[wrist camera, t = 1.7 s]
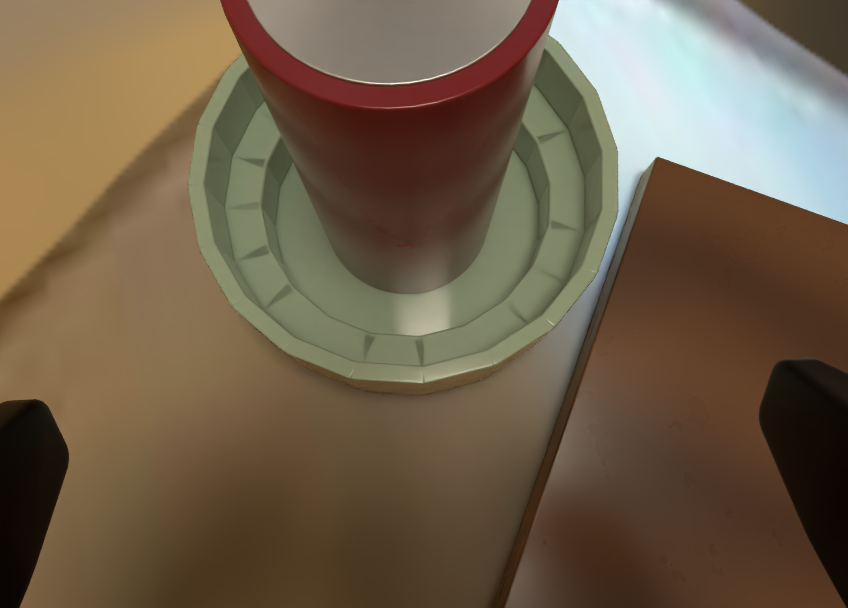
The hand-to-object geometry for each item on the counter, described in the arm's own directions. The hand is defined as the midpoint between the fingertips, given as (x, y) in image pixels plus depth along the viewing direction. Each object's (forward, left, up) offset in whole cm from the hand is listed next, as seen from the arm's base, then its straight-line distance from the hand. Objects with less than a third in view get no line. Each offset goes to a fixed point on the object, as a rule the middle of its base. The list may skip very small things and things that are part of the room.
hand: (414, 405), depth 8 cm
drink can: (+7, +3, -13) cm, 15 cm away
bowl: (+7, +3, -13) cm, 15 cm away
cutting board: (+1, -10, -13) cm, 17 cm away
